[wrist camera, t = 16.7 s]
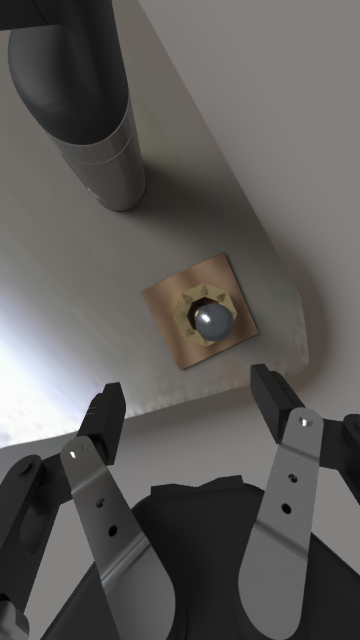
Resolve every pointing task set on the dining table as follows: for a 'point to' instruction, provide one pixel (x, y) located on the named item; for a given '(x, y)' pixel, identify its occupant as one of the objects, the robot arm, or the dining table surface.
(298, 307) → the dining table surface
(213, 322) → the steel pin
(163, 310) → the nut base
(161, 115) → the dining table surface
